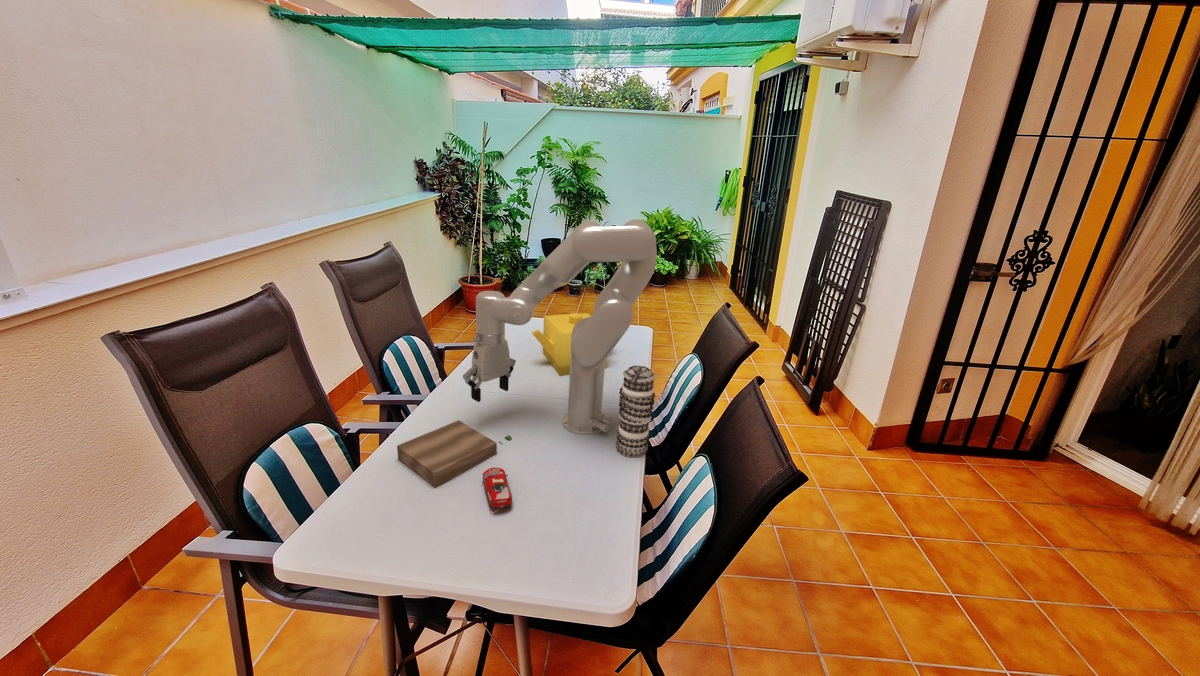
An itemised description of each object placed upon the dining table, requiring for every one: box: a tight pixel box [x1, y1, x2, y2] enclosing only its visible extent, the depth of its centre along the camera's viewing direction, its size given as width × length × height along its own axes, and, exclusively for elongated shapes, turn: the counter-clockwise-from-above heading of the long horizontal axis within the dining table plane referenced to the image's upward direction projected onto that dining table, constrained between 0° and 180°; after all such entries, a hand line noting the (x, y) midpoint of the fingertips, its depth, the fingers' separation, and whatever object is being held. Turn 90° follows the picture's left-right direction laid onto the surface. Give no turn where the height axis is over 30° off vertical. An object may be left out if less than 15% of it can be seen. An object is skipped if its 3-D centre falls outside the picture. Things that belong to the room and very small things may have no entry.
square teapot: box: [531, 312, 608, 377], centre depth 176 cm, size 35×30×21 cm
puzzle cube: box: [498, 435, 513, 445], centre depth 132 cm, size 4×3×2 cm, turn 140°
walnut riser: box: [396, 419, 498, 489], centre depth 124 cm, size 16×18×4 cm
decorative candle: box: [615, 365, 656, 459], centre depth 126 cm, size 9×9×25 cm
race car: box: [482, 467, 513, 511], centre depth 112 cm, size 13×5×4 cm, turn 20°
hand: (490, 394), depth 137 cm, fingers open, 9 cm apart
